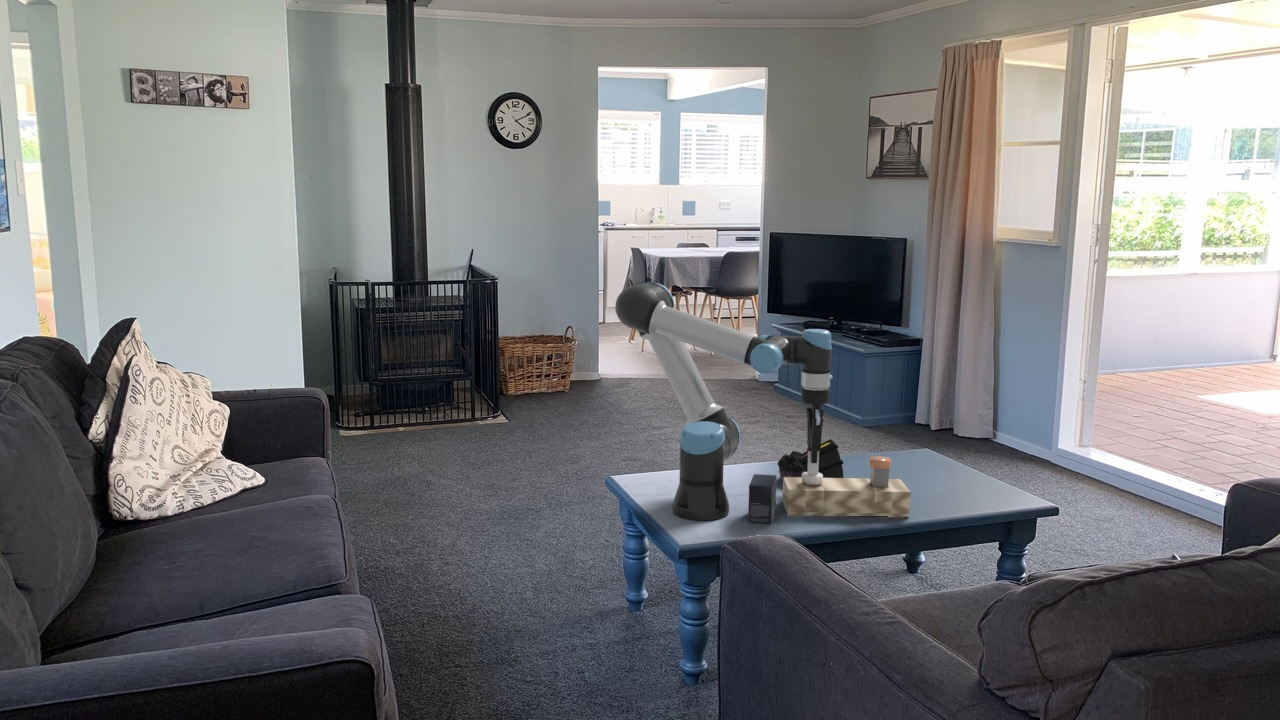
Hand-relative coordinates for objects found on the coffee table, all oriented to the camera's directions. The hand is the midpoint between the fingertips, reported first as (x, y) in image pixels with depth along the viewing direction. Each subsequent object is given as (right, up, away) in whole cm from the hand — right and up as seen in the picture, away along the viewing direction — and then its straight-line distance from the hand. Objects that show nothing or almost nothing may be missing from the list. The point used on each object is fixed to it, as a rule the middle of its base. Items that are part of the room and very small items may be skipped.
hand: (812, 473), depth 261 cm
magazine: (+5, -7, +17) cm, 20 cm away
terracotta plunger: (+18, -3, 0) cm, 18 cm away
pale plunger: (0, -8, +1) cm, 8 cm away
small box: (-14, -11, -6) cm, 19 cm away
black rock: (+1, -6, +28) cm, 29 cm away
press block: (+9, -10, +1) cm, 13 cm away
